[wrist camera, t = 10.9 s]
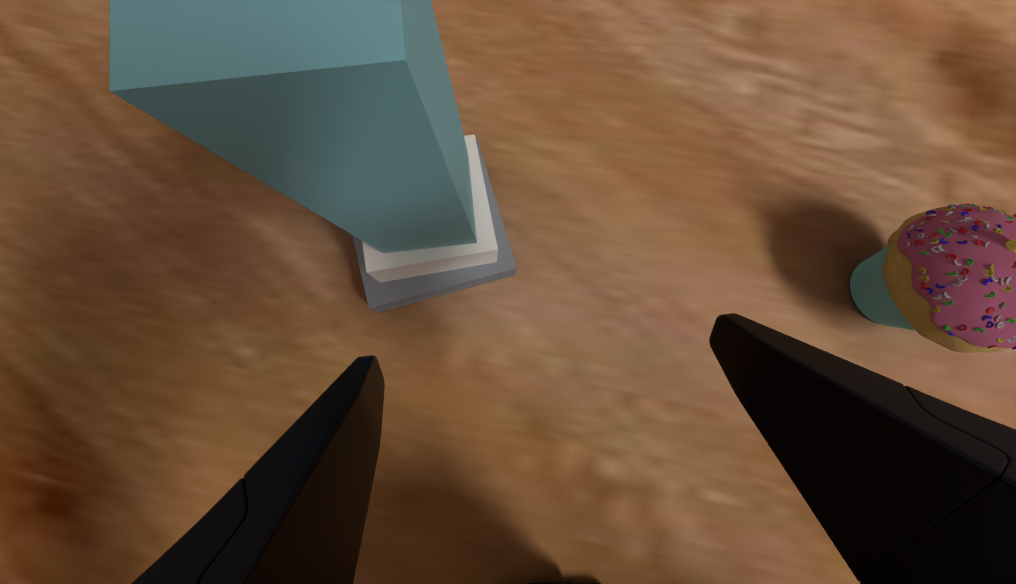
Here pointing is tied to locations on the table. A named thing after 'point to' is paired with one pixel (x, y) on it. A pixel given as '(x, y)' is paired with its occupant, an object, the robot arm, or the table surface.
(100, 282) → the table surface
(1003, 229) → the cupcake
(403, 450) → the table surface
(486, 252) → the tower top slab
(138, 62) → the teal pillar
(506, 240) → the tower base slab
